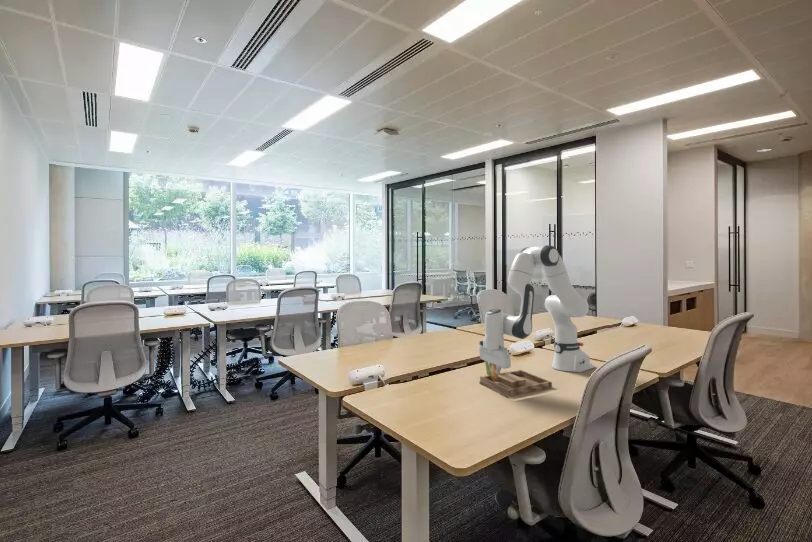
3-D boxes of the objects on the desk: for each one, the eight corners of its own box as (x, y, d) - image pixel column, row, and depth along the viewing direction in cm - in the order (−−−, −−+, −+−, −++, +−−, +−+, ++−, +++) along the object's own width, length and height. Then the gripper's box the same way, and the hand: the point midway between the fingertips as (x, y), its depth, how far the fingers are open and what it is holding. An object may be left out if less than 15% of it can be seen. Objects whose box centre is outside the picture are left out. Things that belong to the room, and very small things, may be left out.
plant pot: (501, 373, 208) (501, 356, 208) (503, 378, 199) (503, 361, 199) (483, 372, 209) (482, 356, 209) (484, 378, 200) (484, 361, 200)
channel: (521, 376, 203) (521, 369, 202) (552, 389, 182) (552, 382, 182) (479, 383, 193) (479, 376, 193) (507, 398, 173) (507, 390, 172)
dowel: (495, 379, 191) (495, 362, 191) (499, 381, 189) (499, 364, 188) (490, 380, 190) (490, 363, 190) (494, 382, 187) (493, 365, 187)
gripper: (513, 347, 180) (514, 377, 181) (487, 339, 199) (488, 366, 200) (502, 349, 178) (503, 380, 178) (476, 340, 197) (477, 368, 197)
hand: (494, 372), depth 189 cm, fingers closed on dowel, 3 cm apart
